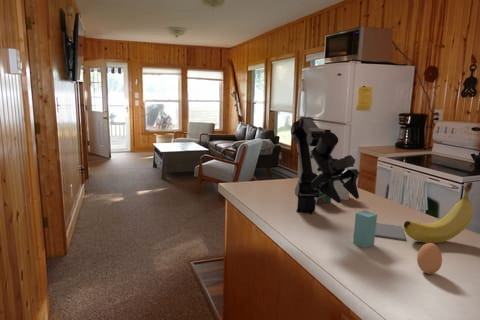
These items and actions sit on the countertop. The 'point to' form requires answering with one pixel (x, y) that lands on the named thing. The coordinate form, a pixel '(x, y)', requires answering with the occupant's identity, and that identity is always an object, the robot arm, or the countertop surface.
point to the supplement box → (341, 190)
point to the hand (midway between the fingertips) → (349, 200)
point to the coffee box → (322, 198)
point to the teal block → (365, 229)
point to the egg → (429, 258)
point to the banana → (443, 223)
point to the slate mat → (389, 231)
